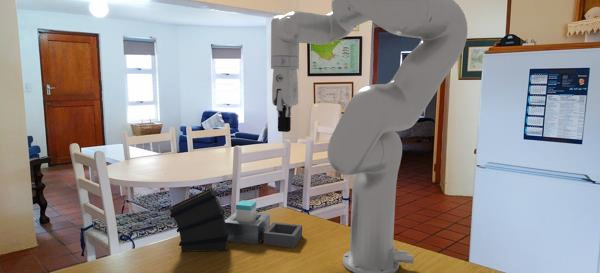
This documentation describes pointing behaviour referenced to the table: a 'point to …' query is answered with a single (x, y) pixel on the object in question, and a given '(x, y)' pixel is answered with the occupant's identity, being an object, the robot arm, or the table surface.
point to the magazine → (201, 223)
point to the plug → (246, 211)
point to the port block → (247, 229)
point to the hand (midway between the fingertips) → (284, 131)
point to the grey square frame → (283, 235)
